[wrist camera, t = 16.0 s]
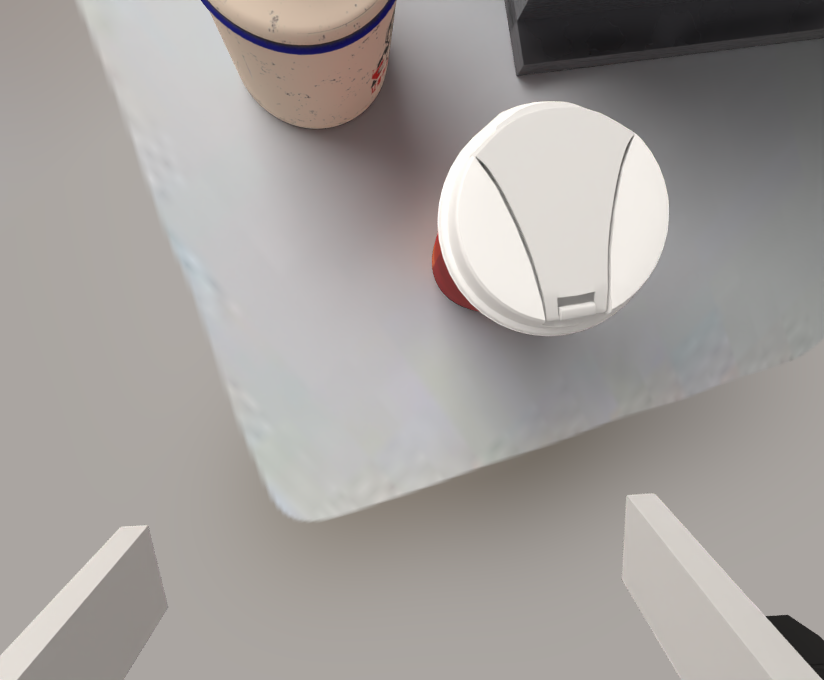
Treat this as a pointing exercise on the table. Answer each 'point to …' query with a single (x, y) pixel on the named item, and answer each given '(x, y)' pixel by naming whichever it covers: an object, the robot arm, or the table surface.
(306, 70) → the teacup with lid
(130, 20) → the table surface
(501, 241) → the paper cup
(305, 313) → the table surface
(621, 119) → the table surface
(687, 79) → the table surface
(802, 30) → the panel
